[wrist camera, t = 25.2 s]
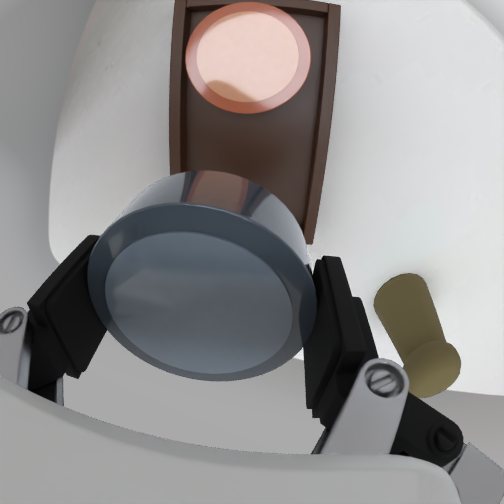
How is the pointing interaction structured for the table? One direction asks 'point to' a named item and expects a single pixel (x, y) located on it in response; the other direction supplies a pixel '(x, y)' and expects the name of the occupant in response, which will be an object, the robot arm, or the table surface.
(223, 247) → the slate dish
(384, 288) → the pepper shaker
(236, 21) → the terracotta dish
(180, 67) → the tray
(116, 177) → the table surface
